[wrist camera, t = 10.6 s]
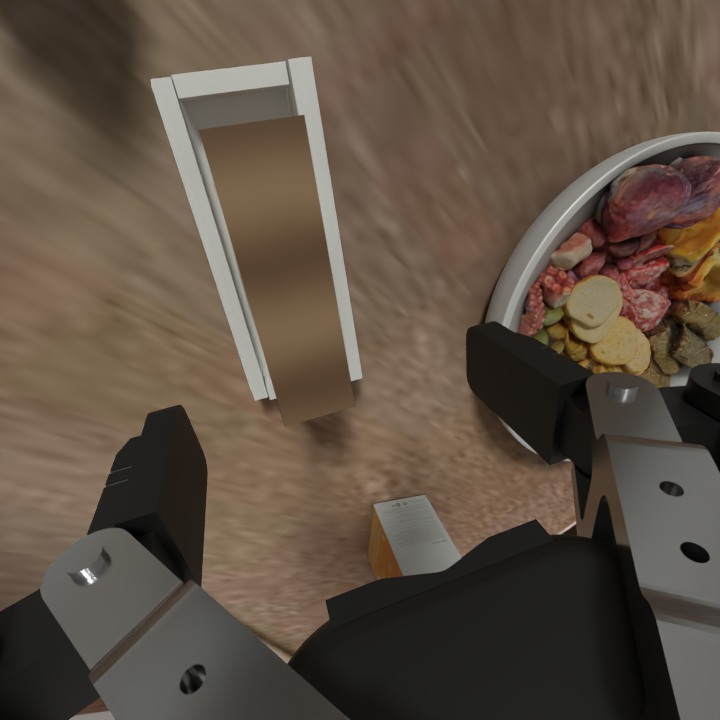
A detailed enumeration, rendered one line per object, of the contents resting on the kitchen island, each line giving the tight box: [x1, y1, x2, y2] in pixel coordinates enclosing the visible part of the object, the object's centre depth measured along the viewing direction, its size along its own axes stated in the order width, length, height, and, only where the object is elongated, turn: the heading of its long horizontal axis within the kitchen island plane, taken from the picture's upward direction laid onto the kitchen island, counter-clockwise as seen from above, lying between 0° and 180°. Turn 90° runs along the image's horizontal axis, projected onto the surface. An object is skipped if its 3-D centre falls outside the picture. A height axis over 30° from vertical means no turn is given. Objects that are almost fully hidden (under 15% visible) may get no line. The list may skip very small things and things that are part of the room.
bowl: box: [485, 132, 720, 461], centre depth 36 cm, size 30×30×8 cm
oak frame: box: [199, 115, 355, 427], centre depth 23 cm, size 14×4×10 cm, turn 8°
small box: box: [368, 495, 462, 581], centre depth 39 cm, size 8×6×13 cm
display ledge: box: [150, 57, 362, 401], centre depth 26 cm, size 8×20×4 cm, turn 8°
